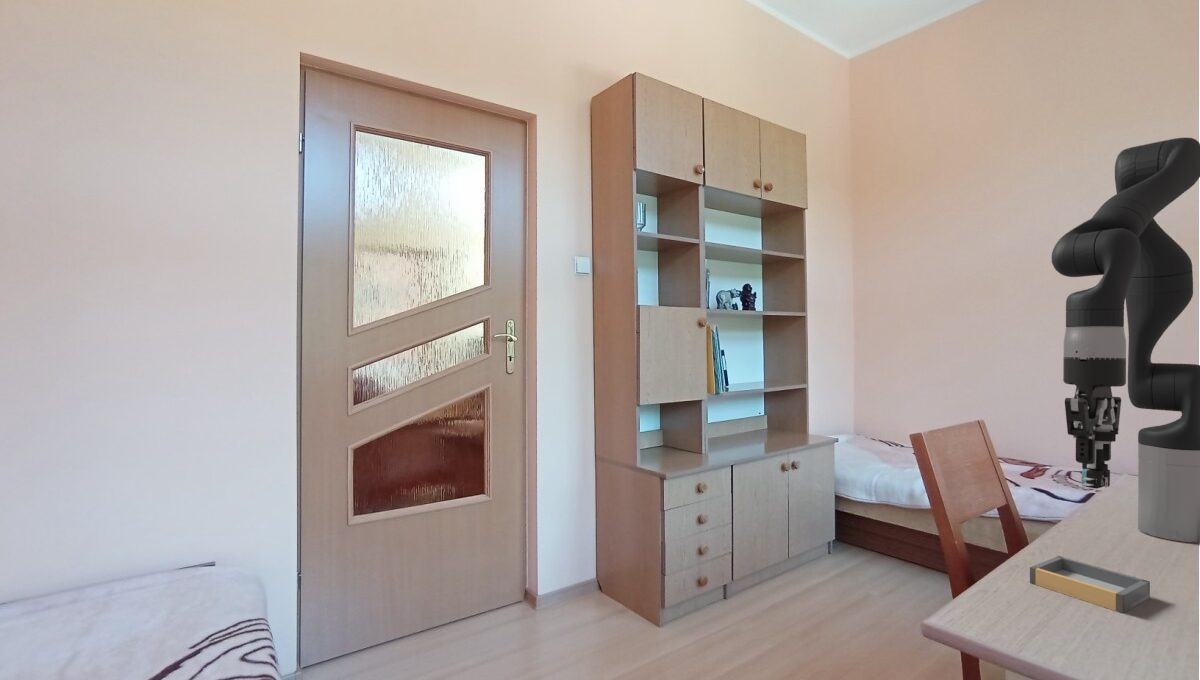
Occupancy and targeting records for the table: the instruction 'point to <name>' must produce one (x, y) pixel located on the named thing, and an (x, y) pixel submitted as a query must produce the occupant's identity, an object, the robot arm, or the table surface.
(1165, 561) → the table surface
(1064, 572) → the tray
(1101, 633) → the table surface
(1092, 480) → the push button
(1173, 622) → the table surface
